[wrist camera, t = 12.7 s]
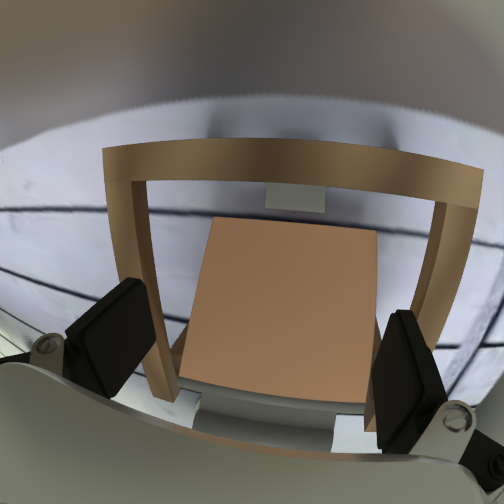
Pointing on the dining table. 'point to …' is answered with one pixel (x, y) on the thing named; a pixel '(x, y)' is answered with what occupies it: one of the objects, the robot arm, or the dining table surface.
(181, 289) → the dining table surface
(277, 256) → the trapdoor
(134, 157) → the frame
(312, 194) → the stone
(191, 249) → the dining table surface
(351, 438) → the dining table surface
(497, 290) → the dining table surface
